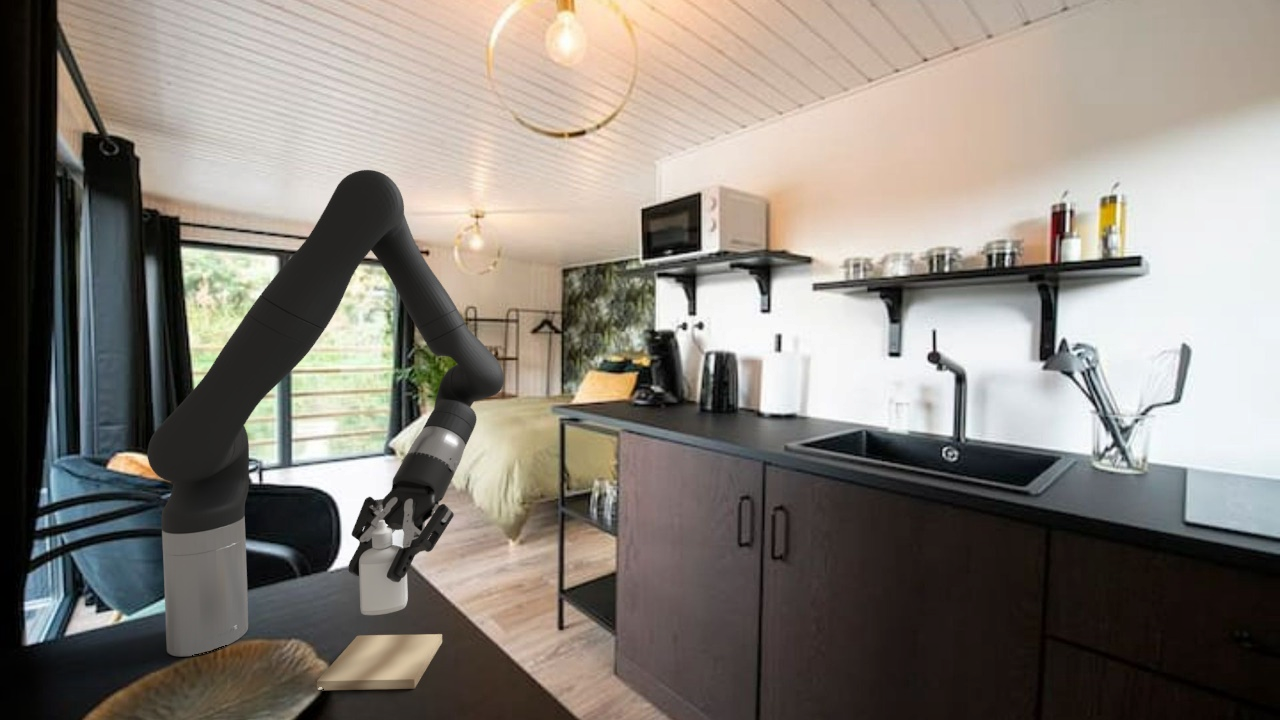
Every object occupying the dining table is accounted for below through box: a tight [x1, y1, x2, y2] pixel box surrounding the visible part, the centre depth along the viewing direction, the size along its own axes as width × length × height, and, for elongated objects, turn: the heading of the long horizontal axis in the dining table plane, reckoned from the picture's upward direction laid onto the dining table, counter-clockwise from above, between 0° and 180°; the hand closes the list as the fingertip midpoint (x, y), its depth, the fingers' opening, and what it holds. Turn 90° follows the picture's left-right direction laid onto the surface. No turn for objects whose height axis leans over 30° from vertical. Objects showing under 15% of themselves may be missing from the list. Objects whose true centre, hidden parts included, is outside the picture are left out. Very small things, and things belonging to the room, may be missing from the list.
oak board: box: [316, 633, 443, 691], centre depth 71 cm, size 12×10×1 cm
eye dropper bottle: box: [358, 520, 409, 616], centre depth 70 cm, size 4×6×12 cm
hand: (373, 576), depth 69 cm, fingers closed on eye dropper bottle, 5 cm apart
